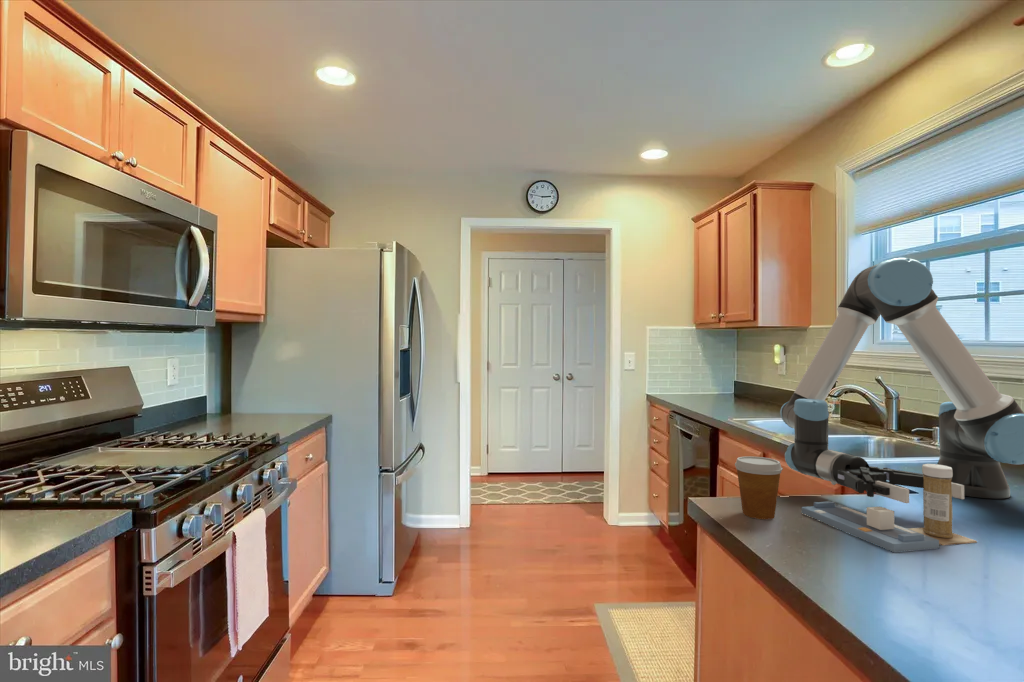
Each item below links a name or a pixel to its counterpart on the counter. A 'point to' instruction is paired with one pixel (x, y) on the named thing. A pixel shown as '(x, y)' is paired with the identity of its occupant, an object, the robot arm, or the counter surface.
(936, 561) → the counter surface
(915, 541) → the switch board
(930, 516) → the sprinkles bottle
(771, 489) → the disposable coffee cup
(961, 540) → the cork coaster
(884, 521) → the ivory tab
